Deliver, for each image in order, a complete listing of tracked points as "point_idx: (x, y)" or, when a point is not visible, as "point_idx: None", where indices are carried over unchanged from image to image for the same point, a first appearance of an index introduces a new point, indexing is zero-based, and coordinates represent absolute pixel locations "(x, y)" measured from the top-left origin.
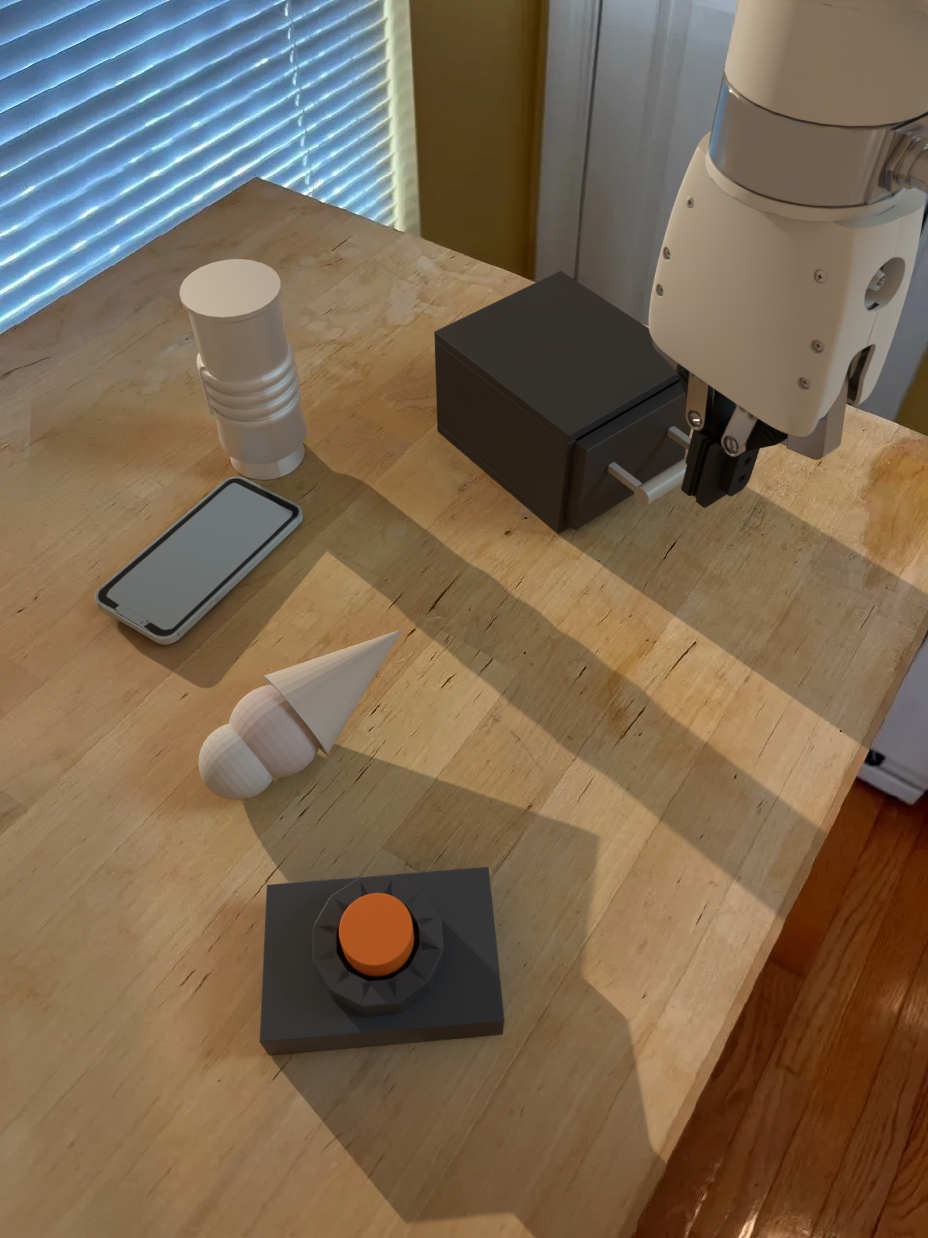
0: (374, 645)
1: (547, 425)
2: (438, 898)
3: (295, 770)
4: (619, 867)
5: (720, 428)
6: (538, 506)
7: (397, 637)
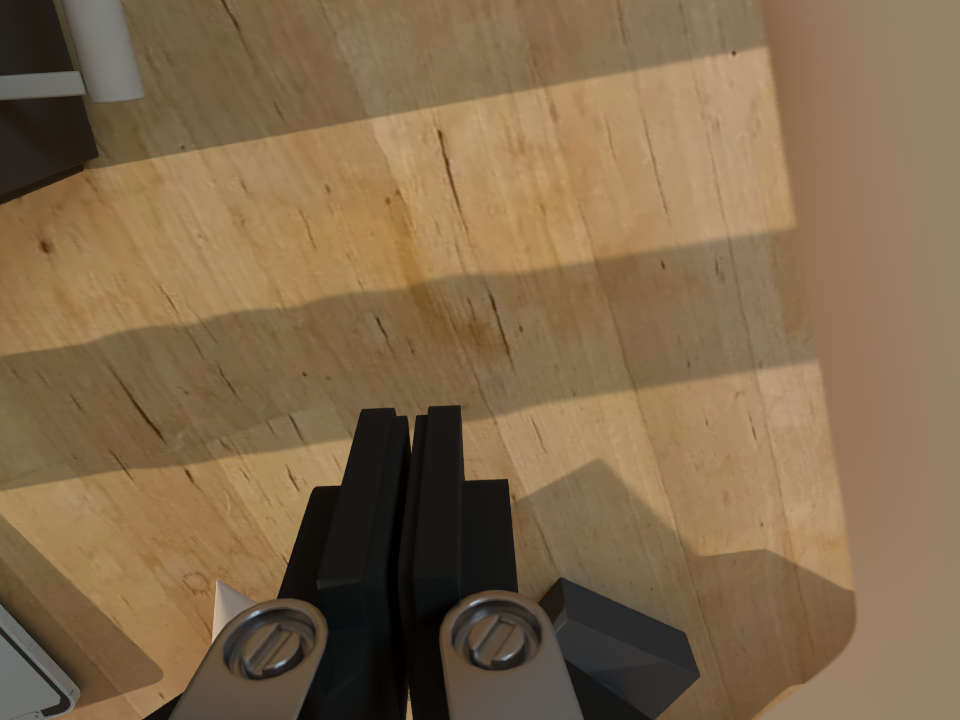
0: None
1: None
2: None
3: None
4: (644, 463)
5: (377, 700)
6: None
7: (226, 586)
